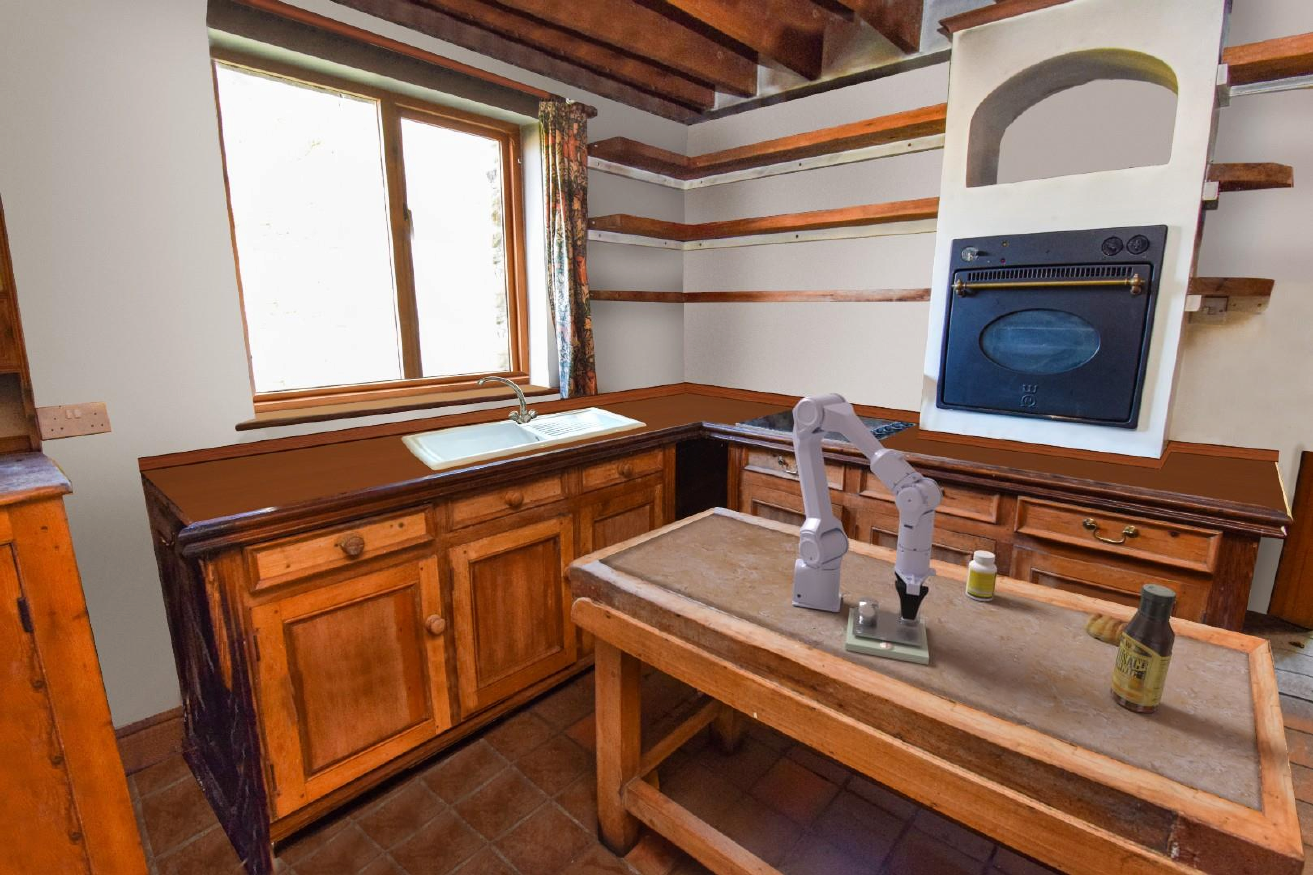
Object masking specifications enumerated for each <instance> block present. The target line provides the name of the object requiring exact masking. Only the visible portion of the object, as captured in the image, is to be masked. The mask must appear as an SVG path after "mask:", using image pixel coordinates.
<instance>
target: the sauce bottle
mask: <svg viewBox="0 0 1313 875" xmlns="http://www.w3.org/2000/svg"><path fill="white" fill-rule="evenodd" d="M1140 595H1141V597H1140V601H1139V602H1140V603H1139V606H1138V608H1137V611H1136V612H1135V614H1134V615H1133V617H1132V618H1131V619H1130V621H1129V622H1128V623H1127V626H1126V628H1125V629H1124V630H1123V633H1122V637H1121V642H1120V646H1118V651H1117V656H1116V659H1115V664H1114V669H1113V674H1112V678H1111V683H1110V686H1111V687H1110V694H1111V697H1112V698H1113V700H1114V701H1115V702H1116V703H1117V704H1119V705H1120V706H1123V707H1125V708H1126V709H1128V710H1130V711H1132V712H1136V713H1144V714H1148V713H1150V714H1151V713H1153V712H1155V711H1156V710H1157V709H1158V707H1159V704H1161V703H1160V702H1161V700H1162V699H1161V698H1162V695H1163V692H1164V688H1165V683H1166V677H1167V675H1168V670H1169V666H1170V662H1171V659H1172V655H1173V645H1174V643H1175V636H1176V634H1175V632H1174V629H1173V627H1172V626H1171V623H1170V619H1171V612H1172V607H1173V605H1174V604H1175V602H1176V599H1177V593H1176V592H1175V591H1174V590H1173V589H1171V588H1168V587H1166V586H1164V585H1158V584H1154V583H1146V584H1143V585H1142V587H1141V590H1140Z"/></svg>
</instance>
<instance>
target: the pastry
mask: <svg viewBox="0 0 1313 875" xmlns="http://www.w3.org/2000/svg"><path fill="white" fill-rule="evenodd" d="M1127 625H1128V623H1125V622H1124V621H1123V620H1122V619H1116V618H1114V617H1113V616H1112V615H1104V614H1102V613H1101V612H1097V611H1096V612H1094V613H1092V614H1091V615H1090V617H1089V618H1088V620H1087V622H1086V623H1085V626H1084V630H1085V631H1086V632H1087V633H1088V635H1089V636H1090V637H1093V638H1097V639H1099V640H1100V641H1102V642H1104V643H1107V644H1110V645H1113V646H1116V647H1119V646H1120V642H1121V637H1122V633H1123V630H1124V629H1125V628H1126V626H1127Z"/></svg>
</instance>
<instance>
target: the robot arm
mask: <svg viewBox="0 0 1313 875" xmlns="http://www.w3.org/2000/svg"><path fill="white" fill-rule="evenodd" d="M792 415H793V421H794V422H793V423H794V424H793V429H792V434H791V436H792V442H793V443H792V444H793V449H794V455H795V456H794V457H795V460H796V467H797V472H798V477H799V485H800V488H801V489H800V490H801V496H802V501H803V506H804V513H805V514H804V515H805V517H806V518H805V521H804V522H803V523H802V526H801V527H800V529H799V531H798V533H799V544H798V552H799V556H800V558H796V560H795V566H794V571H793V572H794V573H793V584H792V601H791V602H792V603H791V604H792V605H793V606H797V607H802V608H809V609H814V610H815V609H816V610H821V611H826V612H827V611H828V612H833V613H839V612H840V608H841V601H842V594H841V593H840V581H841V569H842V566H841V565H842V562H843V556H845V555H846V554H847V553H848V551H849V549H850V540H849V537H848V536H847V534H846V532H845V530H844V527H843V522H842V521H841V520H840V519H838V518H837V517H836V516H834V511H833V506H832V502H831V495H830V489H829V483H828V478H827V472H826V466H825V465H826V464H825V459H824V455H823V454H824V453H823V448H822V441H823V439H824V437H825V436H826V435H827V434H828V433H829V432H831V433H832V432H833V433H839V434H841V435H843V436H844V437H845V438H846V439H847V440H848V441H849V442H850V443H851V444H852V445H853V446H854V447H855V448H857V449H858V451H860V452H861V453H862V454H863V455H864V456H866V458H867V459H868V460H869V461H870V463H869V464H870V467H869V468H870V470H871V472H872V473H873V474H874V476H876V478H878V479H879V480H880V482H881V483H882V484H883V485H884V486H885V487H886V488H887V489H888V490H889V491H890V492H891V493H892V495H894V504H895V505H896V508H897V510H898V512H899V517H898V518H899V523H898V535H897V543H896V545H897V546H896V557H895V563H894V565H893V566H894V567H893V569H894V575H895V577H896V580H894V587H895V591H896V592H897V595H898V597H899V605H900V604H901V614H902V618H903V619H909V620H915V618H916V615H917V612H918V609H919V606H920V604H921V605H922V602H923V600H924V598H926V596H927V595H928V593H929V591H930V590H929V589H930V588H929V586H925V585H923V584H924V582H925V581H926V580H927V579H928V578H929V577H936V575H937V570H936V568H934V567H930V565H931V564H930V563H931V555H932V554H931V553H932V545H933V535H934V526H935V524H934V523H935V515H936V510H935V509H937V508H938V507H939V506H940V505H941V504H942V502H943V491H942V489H941V488H940V485H938V483H937V481H935V480H934V479H932V478H929V477H924V476H923V474H922V473H921V472H917V471H916V470H915V469H914V468H913V467H912V465H911V464H910V463H909V462H908V461H907V460H906V459H905V457H906V456H905V455H904V454H903V452H901V451H897V450H896V449H893V448H885V447H884V446H883V445H882V443H881V442H880V441H879V439H878V438H877V437H876V436H875V435H874V434H873V432H871V431H870V430H869V428H868V427H867V426H866V425H865V424H864V423H863V421H862V420H861V418H859V417H858V415H857V414H856V412H855V411H854V407H853V405H852V404H851V403H850V402H849V401H847V399H846V398H845V397H844V396H843V395H842V394H840V393H837V392H832V393H829V394H824V395H817V396H805V397H803V398H800V400H799V401H798V403H797V404H796V405H795V406H794V407H793V409H792Z"/></svg>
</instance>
